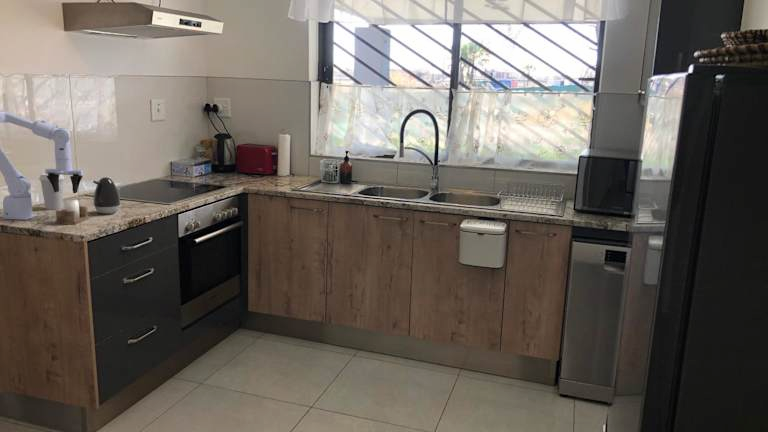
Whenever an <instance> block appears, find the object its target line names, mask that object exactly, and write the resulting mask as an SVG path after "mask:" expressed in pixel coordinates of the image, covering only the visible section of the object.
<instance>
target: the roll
mask: <svg viewBox="0 0 768 432" xmlns="http://www.w3.org/2000/svg"><path fill="white" fill-rule="evenodd" d="M63 201H64V202H63V205H64V209H69V211H75V218H76V219H79V218H80V214H79V205H80V203H79V202H80V201H79V200H78V199H67V200H63Z"/></svg>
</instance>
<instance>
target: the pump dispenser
mask: <svg viewBox="0 0 768 432" xmlns="http://www.w3.org/2000/svg"><path fill="white" fill-rule="evenodd" d="M92 183H94V184H96V187H95V190H94V194H93V195H94V196H93V206H94V208H95V210H96V212H98V213H99V214H101V215H111V214H115V213H116V212H117V211H119V208H120V206H121V199H120V194H119V191H118V189H117V186H116V184H115V183H114V181H113V180H112V178H109V177H106V176H105V177H101V178H100V179H99V180H98V181H97V180H93V182H92Z"/></svg>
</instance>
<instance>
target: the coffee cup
mask: <svg viewBox="0 0 768 432" xmlns="http://www.w3.org/2000/svg"><path fill="white" fill-rule="evenodd" d="M47 176H48V174H45V172H43V173H41V174H40V175H39V178H38V179H39V181H40V184H41V185H40V186H41V191H42V196H43V202H44V207H45V209H46V210H47V211H48V210H50V211H52V210H53V211H57V210H62V209H64V206H63V205H64V202H63V201H64V179H65V175H62V174H60V175H59V192H54V189H53V187H52V184H51V183H50V181H49V179H48V178H47Z"/></svg>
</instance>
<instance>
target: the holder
mask: <svg viewBox="0 0 768 432" xmlns="http://www.w3.org/2000/svg"><path fill="white" fill-rule="evenodd" d="M79 214H80V218H79V219H76V218H75V211H69V209H65V208H62V209H57V210H55V216H56V217H55V218H56V220H54V224H55V225H57V224H58V225H73V226H75V225H78V224H79V223H82V222H84V221H86V220H87V221H88V220H90V215H88V207H87V206H86V205H85V206H82V204H79Z"/></svg>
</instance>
